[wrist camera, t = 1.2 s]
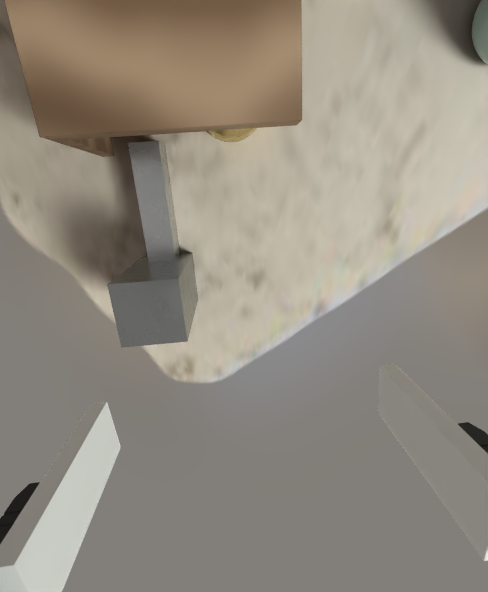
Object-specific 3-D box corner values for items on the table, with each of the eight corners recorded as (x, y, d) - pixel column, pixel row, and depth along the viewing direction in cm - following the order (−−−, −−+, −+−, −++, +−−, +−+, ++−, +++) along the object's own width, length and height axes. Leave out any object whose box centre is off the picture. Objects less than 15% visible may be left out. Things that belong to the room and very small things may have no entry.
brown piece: (62, -44, 23) (-50, -209, 14) (269, -52, 24) (300, -216, 14) (102, 156, 28) (39, 136, 18) (275, 144, 28) (301, 119, 19)
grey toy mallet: (123, 149, 28) (71, 125, 18) (178, 145, 28) (155, 119, 18) (151, 302, 32) (121, 347, 23) (198, 298, 33) (187, 341, 23)
